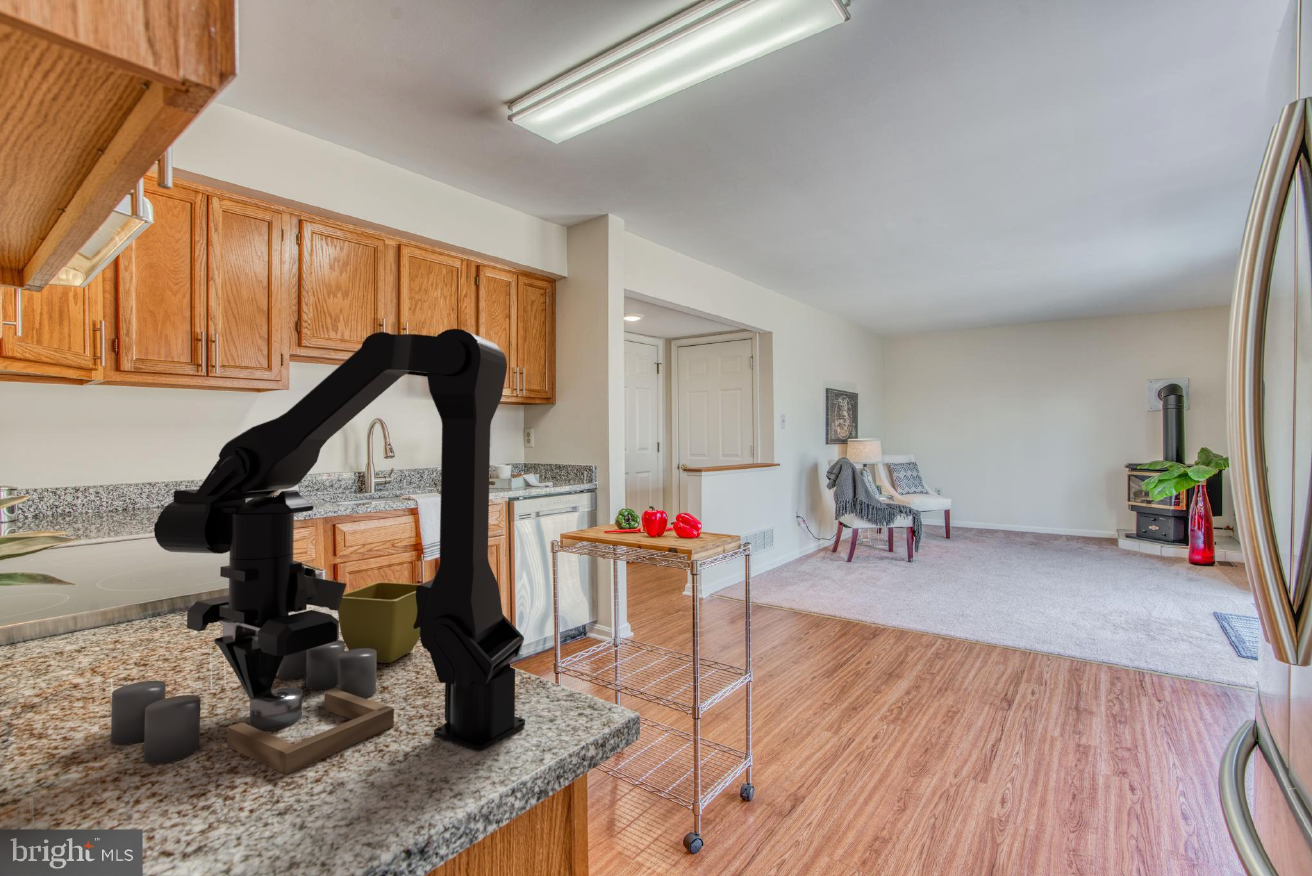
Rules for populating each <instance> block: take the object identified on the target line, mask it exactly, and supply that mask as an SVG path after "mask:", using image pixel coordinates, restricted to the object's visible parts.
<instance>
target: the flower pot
mask: <svg viewBox="0 0 1312 876" xmlns="http://www.w3.org/2000/svg"><path fill="white" fill-rule="evenodd" d="M420 584H421V583H420ZM420 584H419V583H406V582H390V581H388V582H387V581H377V582H374V583H370V584H367V585H366V586H363V587H360V588H357V589H354V590H350V591H348V592H344V594H343V597H342V600H341V603H340V606H339V609H338V611H337V616H338V621H339V631H340V633H341V638H342V641H344V642H345V647H346V648H347V649H348V650H353V649H360V648H370V649H374V650H376V651H377V657H376V663H381V664H382V663H383V664H390V663H393V662H394V661H396V660H399V659H400V658H401V657H403V656H405V655H407V654H409V653H410V652H412V651H413V649H414V648H415V647H416V645H417V644H418V642H419V639H420V627H419V628H417V629H414V628H413V626H414V623H415V621H416V617H417V603H416V587H417V586H418V585H420Z"/></svg>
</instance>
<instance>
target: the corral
mask: <svg viewBox="0 0 1312 876" xmlns="http://www.w3.org/2000/svg"><path fill="white" fill-rule="evenodd" d="M323 698H324V699H323V702H324V703H323V704H324V705H323V707H324V708H323V709H324V710H325V711H327V712H330V713H333V714H336V715H338V716H341V717H344V718H347V719H349V720H348V721H347V722H343V723H341V724H339V725H337V726H334V727H331V728H329V729H328V730H324V731H322V732H320V733H317V734H315V735H312V736H310V737H308V738H305V739H303V740H300V741H298V742H296V743H294V744H293V743H292V742H288V741H287V740H284V739H282V738H280V737H277V736H274V735H272V734H270V733H268V732H267V731H261V730H259V729H257V728H254V727H252V726H250V725H249V724H247V723H245V722H242V721H241V722H238V723H235V724H233V725H230V726H227V748H230V749H232V750H234V751H236V752H238V753H240V754H242V755H243V756H244V755H245V756H247V757H249V758H250V759H253V760H255V761H257V762H259V763H262V764H263V765H265V766H268V767H270V768H271V769H274V770H276V771H278V772H280V773H282V774H283V775H284V774H285V776H286V775H289V774H292V773H293V772H296V771H298V770H300V769H302V768H305V767H307V766H309V765H312V764H314V763H315V762H317V761H320V760H322V759H324V758H326V757H328V756H329V757H330V756H331V755H333V754H336V753H338V752H340V751H342V750H345V749H347V748H349V747H351V746H354V745H355V744H357V743H361V742H362V741H365V740H367V739H369V738H371V737H373V736H376V735H378V734H380V733H382V732H384V731H386V730H389V729H391V728H393V727H394V726H395V709H394V707H391V706H388V705H384V704H383V703H378V702H376V701H372V700H371V699H367V698H361V697H358V696H355V695H352V694H349V693H346V692H343V691H340V690H337V688H333V689H331V690H328V691H326V692H324V695H323Z"/></svg>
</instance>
